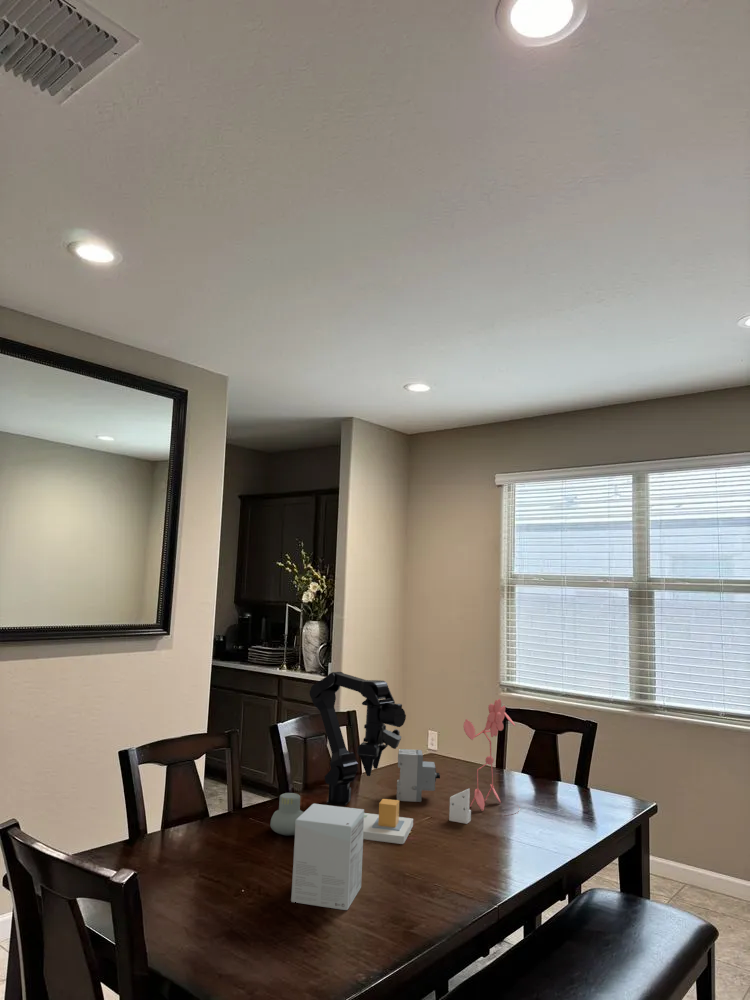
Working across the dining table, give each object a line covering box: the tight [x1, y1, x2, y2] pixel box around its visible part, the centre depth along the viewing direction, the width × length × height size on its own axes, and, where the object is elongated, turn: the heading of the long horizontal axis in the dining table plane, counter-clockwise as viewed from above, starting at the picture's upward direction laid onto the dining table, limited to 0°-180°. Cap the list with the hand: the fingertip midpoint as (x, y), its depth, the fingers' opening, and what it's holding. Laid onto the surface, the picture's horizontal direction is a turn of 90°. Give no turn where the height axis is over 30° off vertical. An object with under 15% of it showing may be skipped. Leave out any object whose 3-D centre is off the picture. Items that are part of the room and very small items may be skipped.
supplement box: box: [290, 803, 365, 911], centre depth 157 cm, size 13×13×18 cm
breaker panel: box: [363, 812, 414, 845], centre depth 199 cm, size 20×16×2 cm
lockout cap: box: [378, 798, 400, 827], centre depth 199 cm, size 5×5×6 cm
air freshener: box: [270, 792, 305, 836], centre depth 195 cm, size 11×8×10 cm
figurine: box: [463, 698, 520, 817], centre depth 227 cm, size 15×26×35 cm, turn 140°
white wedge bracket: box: [448, 788, 472, 825], centre depth 212 cm, size 4×10×9 cm, turn 65°
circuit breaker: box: [396, 748, 441, 803], centre depth 233 cm, size 8×14×15 cm, turn 89°
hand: (372, 772), depth 216 cm, fingers open, 9 cm apart
